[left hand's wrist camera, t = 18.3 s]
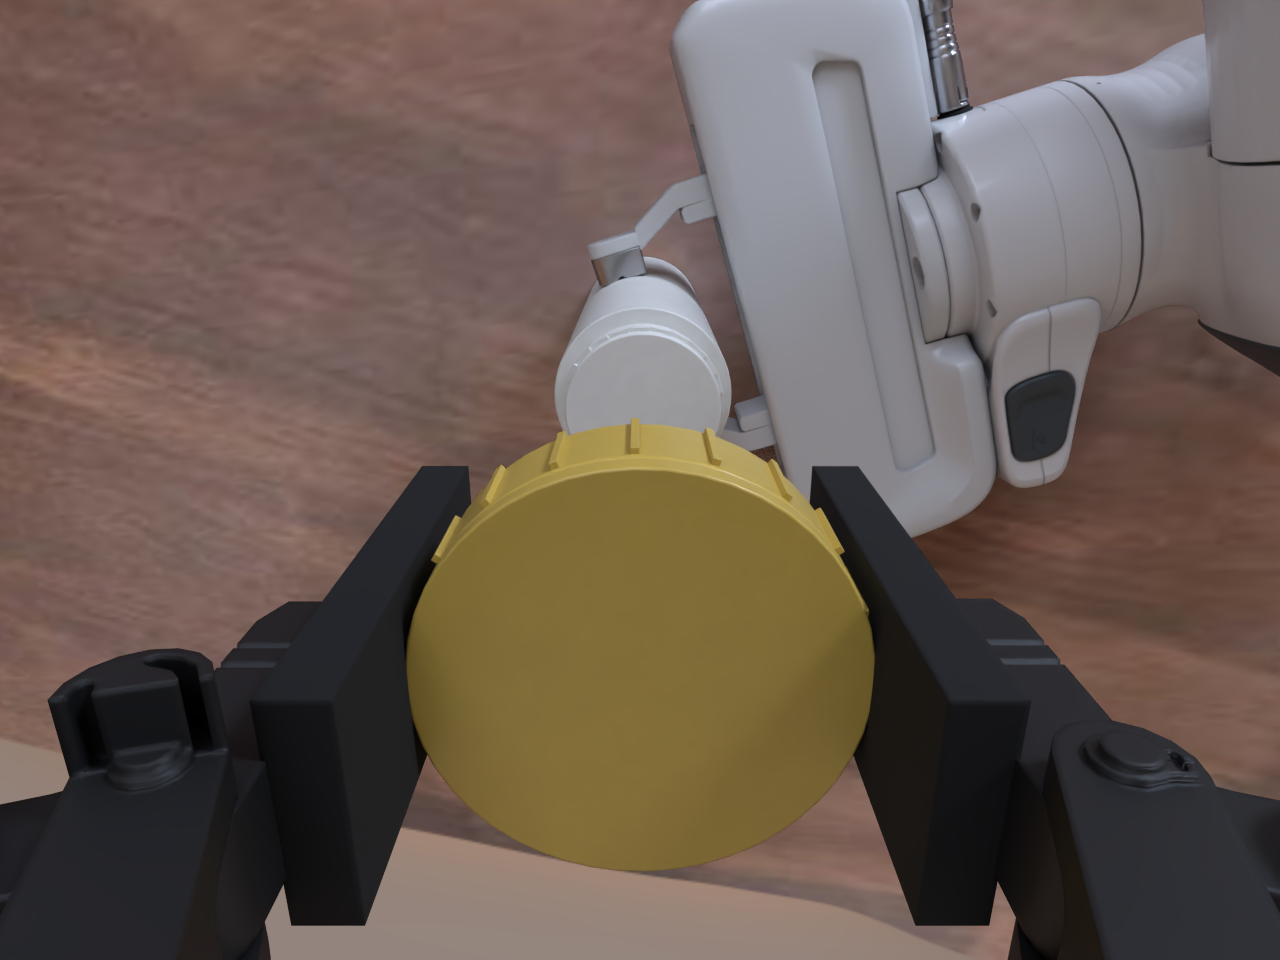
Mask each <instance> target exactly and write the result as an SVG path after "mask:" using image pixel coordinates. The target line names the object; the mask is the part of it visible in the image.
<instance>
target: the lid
mask: <svg viewBox="0 0 1280 960" xmlns="http://www.w3.org/2000/svg"><path fill="white" fill-rule="evenodd" d="M842 553H844V549H843V548H842V546H841V544H840V542H839V540H838V538H837V537H836V535H835V533H834V531H833V529H832V527H831V525H830V524H829V522H828V520H827V518H826V516H825V514H824V513H823V511H822V509H821V508H818V509H816V510H815V511H814V509H813V508H812V506H811V505H810V503H809V502H808V501H807V499H806V498H805V497H804V496H803V495H802V494H801V493H800V492H799V491H798V490H797V489H796V487H795V486H794V485H793V484H792V483H791V482H790V481H789V480H788V479H787V478H785V477H784V476H783V474H782V472H781V470H780V468H779V465H778V463H777V462H775V461H774V460H773V459H771V460H770V461H769V462H768V463H767V462H765V461H763V460H762V459H760V458H758V457H757V456H755V455H754V454H752V453H750V452H749V451H747V450H745V449H743V448H741V447H739V446H737V445H734V444H732V443H730V442H728V441H725V440H723V439H721V438H718V437H715V434H714V431H713V429H710V428H705V430H704V433H702V432H698V431H695V430H691V429H685V428H679V427H673V426H667V425H653V424H640V423H639V418H631V424H627V425H616V426H605V427H600V428H596V429H591V430H587V431H582V432H578V433H575V434H572V435H569V436H567V433H566V431H562V432H559V433H558V434H557V438H556V440H555V441H553V442H550V443H548V444H546V445H544V446H542V447H540V448H538V449H536V450H534V451H532V452H530V453H529V454H527V455H525V456H523V457H522V458H520V459H519V460H518V461H516V462H515V463H513V464H512V465H510V466H509V467H508V468H506V469H505V468H504V467H503V466H502V465H500V466H499V467H498V468H496V470H495V472H494V474H493V476H492V478H491V480H490V482H489V484H488V485H487V486H486V487H485V488H484V489H483V490H482V491H481V492H480V494H479V495H478V496H477V497H476V498H475V500H474V501H473V502H472V503H471V505H470V506H469V507H468V508H467V510H466V511H465V513H464V515H463V516H462V518H460V517H458V516H456V515H455V517H454V519H453V520H452V522H451V524H450V526H449V528H448V530H447V531H446V533H445V535H444V537H443V539H442V541H441V543H440V544H439V546H438V548H437V550H436V552H435V554H434V556H433V557H432V559H431V561H433V562H435V563H437V564H436V566H435V568H434V570H433V572H432V574H431V576H430V578H429V580H428V581H427V583H426V585H425V587H424V590H423V592H422V594H421V597H420V599H419V602H418V604H417V607H416V609H415V611H414V614H413V618H412V622H411V626H410V630H409V634H408V639H407V647H406V671H407V681H408V690H409V699H410V707H411V715H412V719H413V722H414V725H415V728H416V730H417V733H418V735H419V738H420V741H421V743H422V746H423V747H424V749H425V751H426V753H427V755H428V756H429V758H430V760H431V762H432V764H433V765H434V767H435V769H436V770H437V771H438V773H439V774H440V775H441V777H442V778H443V779H444V781H445V782H446V783H447V785H448V786H449V787H450V789H451V790H452V791H453V792H454V793H455V794H456V795H457V796H458V797H459V798H460V799H461V800H462V801H463V802H464V803H465V804H466V805H467V806H468V807H469V808H470V809H471V810H472V811H473V812H475V813H476V814H477V815H478V816H480V817H481V818H482V819H483V820H485V821H486V822H487V823H488V824H490V825H491V826H493V827H494V828H496V829H497V830H499V831H501V832H502V833H504V834H505V835H507V836H509V837H510V838H512V839H513V840H515V841H518V842H520V843H522V844H524V845H526V846H528V847H530V848H532V849H534V850H536V851H539V852H541V853H544V854H547V855H550V856H553V857H556V858H558V859H561V860H564V861H568V862H572V863H577V864H581V865H585V866H589V867H595V868H603V869H611V870H618V871H658V870H671V869H679V868H684V867H690V866H696V865H701V864H705V863H708V862H712V861H715V860H719V859H722V858H726V857H729V856H731V855H734V854H736V853H739V852H741V851H744V850H746V849H749V848H751V847H753V846H755V845H757V844H759V843H761V842H763V841H765V840H766V839H768V838H770V837H772V836H774V835H776V834H778V833H779V832H781V831H782V830H783V829H785V828H786V827H788V826H789V825H790V824H792V823H793V822H795V821H796V820H798V819H799V818H800V817H802V816H803V815H804V814H805V813H806V812H807V811H808V810H809V809H810V808H812V807H813V806H814V805H815V804H816V803H817V802H818V801H819V800H820V799H821V798H822V797H823V796H824V795H825V794H826V792H827V791H828V790H829V789H830V788H831V787H832V785H833V784H834V783H835V782H836V781H837V780H838V778H839V777H840V775H841V774H842V772H843V771H844V769H845V768H846V766H847V765H848V763H849V762H850V760H851V758H852V757H853V755H854V753H855V750H856V748H857V746H858V744H859V742H860V740H861V738H862V736H863V733H864V730H865V727H866V724H867V721H868V717H869V712H870V703H871V695H872V686H873V676H874V666H875V648H874V642H873V635H872V629H871V625H870V622H869V619H868V614H869V609H868V607H867V605H866V603H865V602H864V600H863V598H862V596H861V594H860V592H859V590H858V588H857V586H856V584H855V582H854V580H853V578H852V577H851V575H850V573H849V571H848V569H847V567H845V565H844V563H843V561H842V559H841V557H840V554H842Z"/></svg>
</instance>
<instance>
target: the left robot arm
mask: <svg viewBox="0 0 1280 960" xmlns="http://www.w3.org/2000/svg"><path fill="white" fill-rule="evenodd" d="M470 505H471V496H470V482H469V469H468V466H422V467H421V469H420V470H419V471H418V473H417V474H416V475H415V477H414V478H413V479H412V481H411V482H410V484H409V485H408V486H407V488H406V489H405V490H404V492H403V493H402V494H401V496H400V497H399V498H398V500H397V501H396V503H395V504H394V505H393V507H392V508H391V509H390V511H389V512H388V513H387V515H386V516H385V517H384V519H383V520H382V521H381V523H380V524H379V526H378V527H377V528H376V530H375V531H374V532H373V534H372V535H371V536H370V538H369V539H368V540H367V542H366V543H365V545H364V546H363V547H362V549H361V550H360V551H359V553H358V554H357V555H356V557H355V558H354V559H353V561H352V562H351V563H350V565H349V566H348V568H347V569H346V570H345V572H344V573H343V574H342V576H341V577H340V578H339V580H338V581H337V582H336V584H335V585H334V587H333V588H332V589H331V591H330V592H329V593H328V595H327V596H326V597H325V599H324V600H323V601H322V602H287V603H286V604H284V605H282V606H281V607H279V608H277V609H276V610H274V611H273V612H271V613H269V614H268V615H266V616H264V617H263V618H261V619H259V620H258V621H256V623H255V624H254V625H253V626H252V627H251V628H250V630H249V631H248V632H247V633H246V634H245V635H244V637H243V638H242V639H241V640H240V641H239V642H238V644H237V648H233V650H232V651H231V652H230V653H229V654H228V655H227V657H226V658H225V659H224V660H223V661H222V662H221V668H216V669H215V671H214V668H213V663H212V661H210V660H209V659H208V658H206V657H205V656H204V655H202V654H201V653H199V652H194V651H189V650H184V649H179V648H176V649H154V650H146V651H142V652H137V653H133V654H128V655H124V656H119V657H116V658H114V659H111V660H109V661H106V662H103V663H101V664H98V665H96V666H93V667H90V668H88V669H87V670H85V671H83V672H82V673H80V674H78V675H76V676H75V677H73V678H71V679H70V680H68V681H66V682H65V683H63V684H62V685H61V686H60V688H59V689H58V690H57V691H56V692H55V693H54V694H53V695H52V696H51V697H50V698H49V699H48V703H49V707H50V710H51V714H52V717H53V721H54V724H55V728H56V731H57V735H58V739H59V742H60V746H61V749H62V753H63V756H64V759H65V763H66V766H67V770H68V774H69V777H70V778H69V780H68V782H67V784H66V786H65V788H64V790H63V791H61V792H57V793H54V794H50V795H45V796H40V797H35V798H30V799H25V800H21V801H16V802H11V803H6V804H1V805H0V960H271V957H270V949H269V941H268V936H267V931H266V926H265V920H266V918H267V916H268V914H269V912H270V910H271V908H272V906H273V904H274V902H275V900H276V898H277V896H278V894H279V892H280V890H281V888H282V886H283V884H284V889H285V894H286V899H287V905H288V910H289V915H290V921H291V925H292V926H365V924H366V921H367V919H368V916H369V913H370V910H371V908H372V905H373V902H374V899H375V897H376V894H377V891H378V888H379V886H380V883H381V880H382V877H383V875H384V872H385V869H386V867H387V864H388V861H389V858H390V856H391V853H392V850H393V847H394V845H395V842H396V839H397V836H398V834H399V831H400V828H401V825H402V823H403V820H404V817H405V814H406V812H407V809H408V806H409V803H410V801H411V798H412V795H413V792H414V790H415V787H416V784H417V781H418V779H419V776H420V773H421V770H422V768H423V765H424V762H425V759H426V757H427V753H426V751H425V749H424V747H423V746H422V743H421V741H420V738H419V735H418V733H417V730H416V728H415V725H414V722H413V719H412V715H411V707H410V699H409V690H408V681H407V671H406V647H407V639H408V634H409V630H410V626H411V622H412V618H413V614H414V611H415V609H416V607H417V604H418V602H419V599H420V597H421V594H422V592H423V590H424V587H425V585H426V583H427V581H428V580H429V578H430V576H431V574H432V572H433V570H434V568H435V566H436V564H437V563H435V562H433V561H431V559H432V557H433V556H434V554H435V552H436V550H437V548H438V546H439V544H440V543H441V541H442V539H443V537H444V535H445V533H446V531H447V530H448V528H449V526H450V524H451V522H452V520H453V519H454V517H455V515H456V516H458V517H460V518H462V516H463V515H464V513H465V511H466V510H467V508H468V507H469V506H470ZM810 505H811V506H812V508H813V509H814V511H815V510H816V509H818V508H821V509H822V511H823V513H824V514H825V516H826V518H827V520H828V522H829V524H830V525H831V527H832V529H833V531H834V533H835V535H836V537H837V538H838V540H839V542H840V544H841V546H842V548H843V549H844V553H842V554H840V557H841V559H842V561H843V563H844V565H845V567H847V569H848V571H849V573H850V575H851V577H852V578H853V580H854V582H855V584H856V586H857V588H858V590H859V592H860V594H861V596H862V598H863V600H864V602H865V603H866V605H867V607H868V609H869V614H868V619H869V622H870V625H871V629H872V635H873V642H874V648H875V666H874V676H873V686H872V695H871V703H870V712H869V717H868V721H867V724H866V727H865V730H864V733H863V736H862V738H861V740H860V742H859V744H858V746H857V748H856V750H855V753H854V758H855V761H856V764H857V766H858V769H859V772H860V775H861V777H862V780H863V783H864V786H865V788H866V791H867V794H868V797H869V799H870V802H871V805H872V807H873V810H874V813H875V816H876V818H877V821H878V824H879V827H880V829H881V832H882V835H883V838H884V840H885V843H886V846H887V849H888V851H889V854H890V857H891V860H892V862H893V865H894V868H895V871H896V873H897V876H898V879H899V882H900V884H901V887H902V890H903V892H904V895H905V898H906V901H907V903H908V906H909V909H910V912H911V914H912V917H913V920H914V923H915V925H916V926H989V924H990V918H991V913H992V908H993V902H994V897H995V892H996V886H997V881H998V883H999V885H1000V887H1001V889H1002V891H1003V893H1004V895H1005V897H1006V898H1007V900H1008V902H1009V904H1010V906H1011V908H1012V910H1013V912H1014V914H1015V916H1016V921H1015V926H1014V931H1013V936H1012V941H1011V946H1010V951H1009V956H1008V960H1280V801H1279V800H1274V799H1269V798H1264V797H1259V796H1255V795H1250V794H1245V793H1240V792H1235V791H1230V790H1227V789H1223V788H1219V787H1216V786H1215V784H1214V782H1213V780H1212V778H1211V776H1210V775H1209V774H1208V773H1207V771H1206V770H1205V769H1204V768H1203V766H1202V765H1201V764H1200V763H1199V761H1198V760H1197V759H1196V758H1195V757H1194V756H1192V755H1191V754H1189V753H1188V752H1187V751H1185V750H1184V749H1182V748H1181V747H1179V746H1178V745H1177V744H1175V743H1174V742H1172V741H1170V740H1168V739H1166V738H1164V737H1161V736H1159V735H1157V734H1155V733H1152V732H1150V731H1148V730H1146V729H1143V728H1140V727H1136V726H1132V725H1128V724H1124V723H1120V722H1116V721H1112V720H1111V719H1110V717H1109V716H1108V715H1107V714H1106V713H1105V712H1104V710H1103V709H1102V708H1101V707H1100V706H1099V705H1098V703H1097V702H1096V701H1095V700H1094V699H1093V698H1092V696H1091V695H1090V694H1089V693H1088V692H1087V691H1086V689H1085V688H1084V687H1083V686H1082V685H1081V684H1080V682H1079V681H1078V680H1077V679H1076V678H1075V677H1074V675H1073V674H1072V673H1071V672H1070V671H1069V670H1068V668H1067V667H1066V666H1065V665H1061V664H1060V659H1059V658H1058V657H1057V656H1056V654H1055V653H1054V652H1053V651H1052V650H1051V649H1050V648H1049V646H1048V645H1044V641H1043V639H1042V638H1041V637H1040V636H1039V635H1038V634H1037V632H1036V631H1035V630H1034V629H1033V628H1032V627H1031V625H1030V624H1029V623H1028V622H1027V621H1026V620H1025V618H1023V617H1021V616H1020V615H1018V614H1017V613H1015V612H1013V611H1012V610H1010V609H1008V608H1007V607H1005V606H1003V605H1002V604H1000V603H998V602H997V601H995V600H993V599H956V598H955V597H954V595H953V594H952V593H951V591H950V590H949V588H948V587H947V586H946V584H945V583H944V582H943V580H942V579H941V578H940V576H939V575H938V574H937V572H936V571H935V570H934V568H933V567H932V565H931V564H930V563H929V561H928V560H927V559H926V557H925V556H924V555H923V553H922V552H921V551H920V549H919V548H918V546H917V545H916V544H915V542H914V541H913V540H912V538H911V537H910V536H909V534H908V533H907V532H906V530H905V529H904V528H903V526H902V525H901V523H900V522H899V521H898V519H897V518H896V517H895V515H894V514H893V513H892V511H891V510H890V509H889V507H888V506H887V504H886V503H885V502H884V500H883V499H882V498H881V496H880V495H879V494H878V492H877V491H876V490H875V488H874V487H873V486H872V484H871V483H870V481H869V480H868V479H867V477H866V476H865V475H864V473H863V472H862V471H861V469H860V468H859V467H858V466H812V476H811V489H810Z"/></svg>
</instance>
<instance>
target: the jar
mask: <svg viewBox="0 0 1280 960" xmlns="http://www.w3.org/2000/svg"><path fill="white" fill-rule="evenodd" d="M643 258H644V262H645V266H646V273H644V274H641V275H638V276H634V277H629V278H626V277H623V276H621V277H620V278H619V280H618V281H616V282H614V283H611V284H609V285H605V286H599V283H598V280H597V281H596V282H595V284H594V286H593V288H592V290H591V292H590V294H589V297H588V299H587V301H586V304H585V306H584V308H583V311H582V313H581V315H580V318H579V320H578V322H577V325H576V327H575V329H574V332H573V334H572V336H571V339H570V341H569V343H568V346H567V348H566V350H565V353H564V355H563V358H562V360H561V362H560V365H559V367H558V371H557V375H556V380H555V389H554V392H555V406H556V412H557V416H558V419H559V422H560V425H561V427H562V429H563V431H566V433H567V436H569V435H572V434H575V433H578V432H582V431H587V430H591V429H596V428H600V427H605V426H616V425H627V424H631V418H639V423H640V424H653V425H667V426H673V427H679V428H685V429H691V430H695V431H698V432H702V433H704V430H705V428H710V429H713V431H714V434H715V437H718V438H719V437H720V435H721V433H722V431H723V429H724V427H725V425H726V422H727V419H728V416H729V412H730V406H731V394H732V391H731V380H730V375H729V371H728V368H727V365H726V362H725V360H724V357H723V355H722V353H721V350H720V348H719V346H718V344H717V341H716V339H715V337H714V335H713V332H712V330H711V328H710V326H709V323H708V321H707V319H706V317H705V314H704V312H703V310H702V308H701V305H700V303H699V301H698V299H697V296H696V294H695V292H694V290H693V288H692V286H691V284H690V282H689V281H688V280H687V278H686V277H685V276H684V275H683V274H682V273H681V272H680V271H679V270H678V269H677V268H676V267H674V266H673V265H671V264H669V263H667V262H665V261H663V260H660V259H657V258H652V257H643Z"/></svg>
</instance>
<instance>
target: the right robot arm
mask: <svg viewBox="0 0 1280 960" xmlns="http://www.w3.org/2000/svg"><path fill="white" fill-rule="evenodd" d="M951 8H953V0H699V1H697V2H695V3H693V4H692V5H690V6H689V7H688V8H687V9H686V11H685V12H684V13H683V15H682V17H681V18H680V20H679V22H678V23H677V25H676V27H675V29H674V32H673V34H672V37H671V40H670V48H669V49H670V56H671V60H672V64H673V68H674V71H675V75H676V79H677V83H678V86H679V90H680V94H681V98H682V102H683V105H684V109H685V113H686V117H687V120H688V124H689V128H690V132H691V136H692V139H693V143H694V147H695V151H696V155H697V158H698V162H699V166H700V170H701V173H702V174H701V175H698V176H695V177H692V178H689V179H686V180H683V181H680V182H677V183H674V184H671V185H670V186H669V187H668V188H667V189H666V191H665V192H664V193H663V194H662V195H661V196H660V197H659V198H658V199H657V201H656V202H655V203H654V204H653V205H652V206H651V207H650V208H649V210H648V211H647V212H646V213H645V214H644V215H643V216H642V217H641V218H640V220H639V221H638V222H637V223H636V224H635V225H634V229H633V230H630V231H627V232H623V233H620V234H617V235H614V236H611V237H608V238H605V239H601V240H599V241H596V242H594V243H591V244H589V245H588V246H587V249H588V252H589V256H590V259H591V262H592V265H593V268H594V271H595V274H596V277H597V280H598V283H599V286H605V285H609V284H611V283H614V282H616V281H618V280H619V278H620V277H621V276H623V277H626V278H629V277H634V276H638V275H641V274H644V273H646V266H645V262H644V258H643V255H642V251H641V250H642V249H643V248H644V246H645V245H646V244H647V243H648V242H649V241H650V240H651V239H652V238H653V237H654V236H655V234H656V233H657V232H658V231H659V230H660V229H661V228H662V227H663V226H664V225H665V223H666V222H667V221H668V220H669V219H670V218H671V217H672V216H673V215H674V214H675V213H676V211H677V210H678V209H679V212H680V216H681V219H682V220H683V221H684V222H685V223H687V224H690V223H693V222H697V221H700V220H703V219H707V218H710V217H713V219H714V223H715V226H716V230H717V234H718V238H719V242H720V245H721V249H722V253H723V257H724V260H725V264H726V268H727V272H728V276H729V279H730V283H731V287H732V291H733V294H734V298H735V302H736V306H737V310H738V313H739V317H740V321H741V325H742V329H743V332H744V336H745V340H746V344H747V347H748V351H749V355H750V359H751V363H752V366H753V370H754V374H755V378H756V381H757V385H758V389H759V393H760V396H759V397H755V398H752V399H749V400H746V401H742V402H739V403H736V404H735V405H734V411H735V415H736V417H737V418H731V417H728V419H727V422H726V425H725V427H724V429H723V431H722V433H721V435H720V437H719V438H721V439H723V440H725V441H728V442H730V443H732V444H734V445H737V446H739V447H741V448H743V449H745V450H747V451H749V452H750V451H753V450H757V449H761V448H764V447H768V446H771V445H773V446H774V450H775V453H776V457H777V461H778V465H779V468H780V470H781V472H782V474H783V476H784V477H785V478H787V479H788V480H789V481H790V482H791V483H792V484H793V485H794V486H795V487H796V489H797V490H798V491H799V492H800V493H801V494H802V495H803V496H804V497H805V498H806V499H807V501H808V502H809V503H810V489H811V476H812V466H858V467H859V468H860V469H861V471H862V472H863V473H864V475H865V476H866V477H867V479H868V480H869V481H870V483H871V484H872V486H873V487H874V488H875V490H876V491H877V492H878V494H879V495H880V496H881V498H882V499H883V500H884V502H885V503H886V504H887V506H888V507H889V509H890V510H891V511H892V513H893V514H894V515H895V517H896V518H897V519H898V521H899V522H900V523H901V525H902V526H903V528H904V529H905V530H906V532H907V533H908V534H909V536H910V537H911V538H913V537H916V536H919V535H921V534H924V533H927V532H929V531H932V530H934V529H937V528H940V527H942V526H944V525H947V524H949V523H951V522H953V521H955V520H958V519H960V518H961V517H963V516H965V515H966V514H968V513H969V512H971V511H972V510H973V509H975V508H976V507H977V506H978V505H979V504H980V503H981V502H982V501H983V500H984V499H985V498H986V496H987V495H988V493H989V492H990V490H991V488H992V486H993V483H994V480H995V476H998V477H999V478H1001V479H1002V480H1004V481H1006V482H1008V483H1009V484H1011V485H1013V486H1015V487H1018V488H1029V487H1035V486H1039V485H1042V484H1046V483H1049V482H1051V481H1053V480H1055V479H1057V478H1058V477H1059V476H1060V475H1061V474H1062V473H1063V471H1064V470H1065V467H1066V465H1067V462H1068V459H1069V455H1070V450H1071V445H1072V440H1073V435H1074V429H1075V424H1076V419H1077V414H1078V410H1079V405H1080V400H1081V396H1082V391H1083V387H1084V383H1085V379H1086V375H1087V371H1088V367H1089V364H1090V360H1091V356H1092V353H1093V350H1094V347H1095V343H1096V340H1097V337H1098V334H1099V333H1102V332H1106V331H1109V330H1112V329H1114V328H1116V327H1118V326H1120V325H1121V324H1123V323H1125V322H1127V321H1129V320H1131V319H1132V318H1134V317H1136V316H1138V315H1140V314H1142V313H1144V312H1147V311H1150V310H1152V309H1155V308H1158V307H1163V306H1171V305H1180V306H1188V307H1190V308H1192V309H1193V310H1195V311H1196V312H1197V314H1198V315H1199V320H1198V323H1199V324H1200V325H1201V326H1202V327H1203V328H1204V329H1205V330H1207V331H1208V332H1209V333H1211V334H1212V335H1213V336H1215V337H1216V338H1218V339H1219V340H1221V341H1222V342H1224V343H1225V344H1227V345H1228V346H1230V347H1232V348H1233V349H1235V350H1236V351H1238V352H1240V353H1241V354H1243V355H1245V356H1246V357H1248V358H1250V359H1252V360H1253V361H1255V362H1257V363H1259V364H1260V365H1262V366H1263V367H1265V368H1267V369H1268V370H1270V371H1271V372H1273V373H1275V374H1276V375H1278V376H1280V0H1203V16H1204V32H1205V33H1204V34H1201V35H1198V36H1194V37H1192V38H1189V39H1186V40H1183V41H1181V42H1179V43H1177V44H1175V45H1173V46H1171V47H1169V48H1167V49H1165V50H1163V51H1162V52H1160V53H1159V54H1157V55H1156V56H1154V57H1153V58H1151V59H1150V60H1148V61H1147V62H1145V63H1143V64H1142V65H1140V66H1138V67H1135V68H1133V69H1131V70H1128V71H1125V72H1122V73H1119V74H1113V75H1108V76H1078V77H1070V78H1065V79H1062V80H1058V81H1055V82H1052V83H1048V84H1045V85H1042V86H1039V87H1036V88H1033V89H1030V90H1026V91H1023V92H1020V93H1017V94H1014V95H1011V96H1008V97H1005V98H1002V99H998V100H995V101H992V102H989V103H986V104H983V105H979V106H976V107H973V106H971V107H970V103H969V99H968V90H967V87H966V80H965V74H964V68H963V62H962V57H961V53H960V51H959V50H958V49H959V46H958V43H957V42H956V40H957V39H956V35H955V34H954V31H955V30H954V25H952V23H953V19H952V13H951ZM938 114H940V116H939V117H937V118H938V120H933V121H930V118H933V117H936V116H938Z"/></svg>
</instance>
